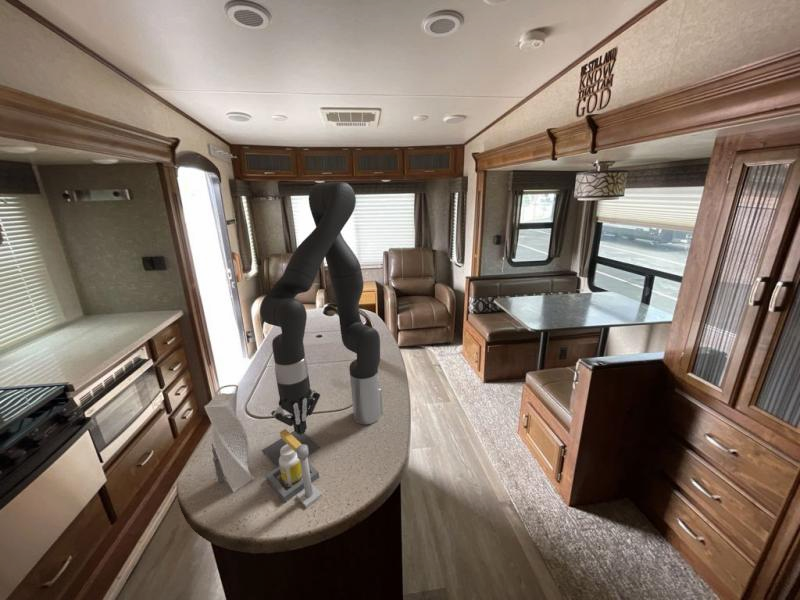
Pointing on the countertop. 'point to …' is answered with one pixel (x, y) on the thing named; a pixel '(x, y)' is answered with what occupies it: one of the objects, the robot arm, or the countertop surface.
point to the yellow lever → (295, 444)
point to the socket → (298, 484)
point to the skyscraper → (228, 442)
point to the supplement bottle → (289, 466)
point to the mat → (275, 448)
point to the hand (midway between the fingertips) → (300, 432)
